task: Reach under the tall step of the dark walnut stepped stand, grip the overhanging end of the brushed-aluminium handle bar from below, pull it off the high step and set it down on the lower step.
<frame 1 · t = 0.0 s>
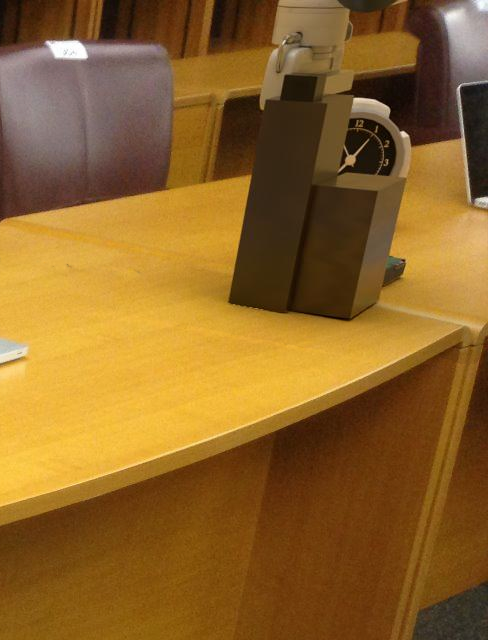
hand: (288, 140, 208), 19 cm above the table, tool pointing down, fingers open, 3 cm apart
disk drive: (338, 274, 222), on the table
handle bar: (319, 94, 198), point 26 cm above the table, touching stepped stand
stepped stand: (305, 301, 207), on the table
alarm clock: (329, 227, 256), on the table
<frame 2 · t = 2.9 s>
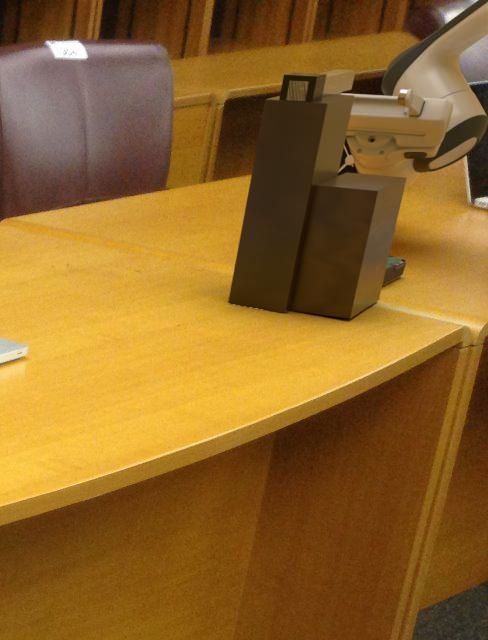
hand: (368, 92, 217), 24 cm above the table, tool pointing upward, fingers open, 8 cm apart
nothing on the table moved.
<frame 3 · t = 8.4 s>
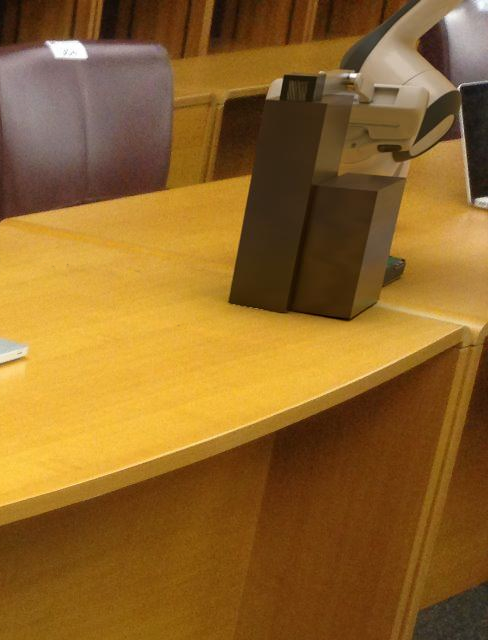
hand: (338, 77, 202), 28 cm above the table, tool pointing upward, fingers closed on handle bar, 2 cm apart
handle bar: (319, 94, 198), point 26 cm above the table, touching gripper, stepped stand
everything else where it was.
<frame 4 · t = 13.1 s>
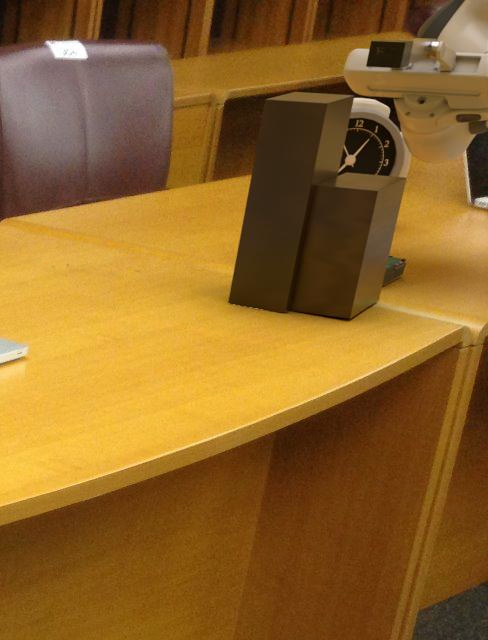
hand: (420, 45, 202), 31 cm above the table, tool pointing upward, fingers closed on handle bar, 2 cm apart
handle bar: (403, 62, 198), point 30 cm above the table, touching gripper
everything else where it was.
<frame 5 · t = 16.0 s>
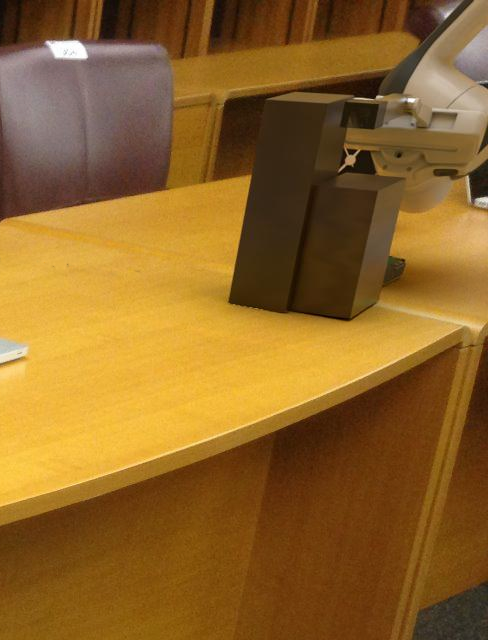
hand: (396, 102, 200), 25 cm above the table, tool pointing upward, fingers closed on handle bar, 2 cm apart
handle bar: (378, 120, 196), point 23 cm above the table, touching gripper
everything else where it was.
when the fingers open (18 cm above the table, at t = 18.2 s): handle bar stays where it is, resting on stepped stand.
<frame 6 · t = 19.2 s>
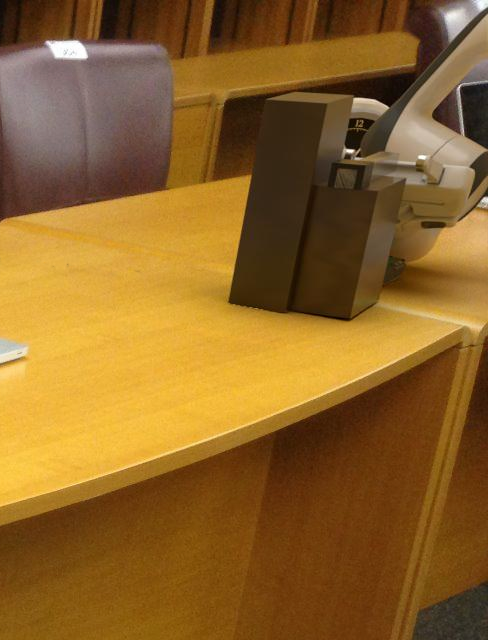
hand: (384, 157, 203), 18 cm above the table, tool pointing upward, fingers open, 8 cm apart
handle bar: (365, 179, 199), point 16 cm above the table, touching stepped stand
everything else where it was.
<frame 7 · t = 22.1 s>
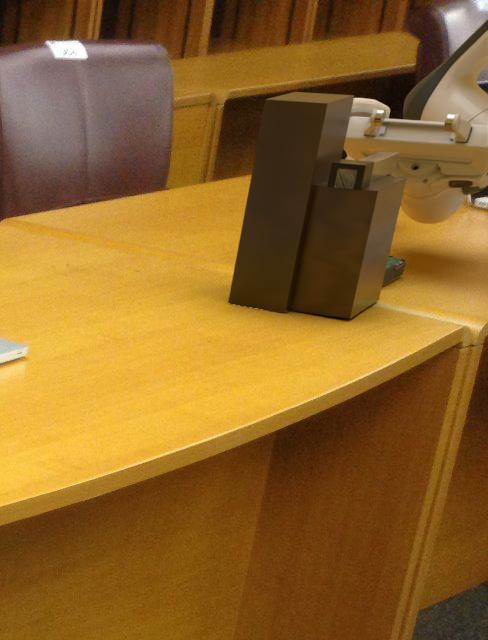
hand: (414, 116, 209), 22 cm above the table, tool pointing upward, fingers open, 8 cm apart
nothing on the table moved.
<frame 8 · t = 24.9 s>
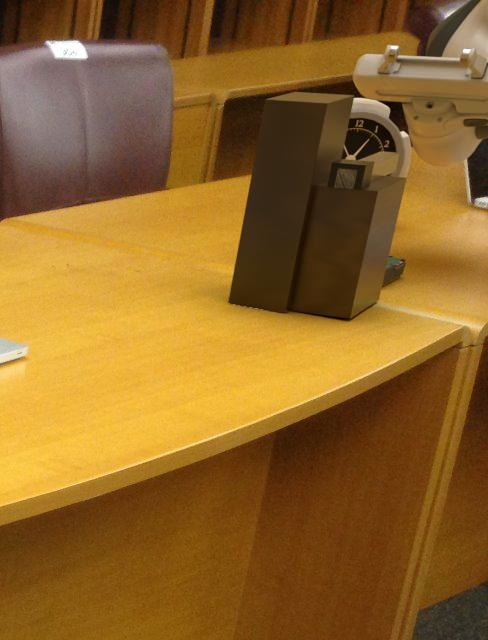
hand: (429, 51, 206), 30 cm above the table, tool pointing upward, fingers open, 8 cm apart
nothing on the table moved.
at the end: handle bar inside the target area (0.6 cm from its centre), point 16.0 cm above the table; handle bar tilted 0°; the gripper is holding nothing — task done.
